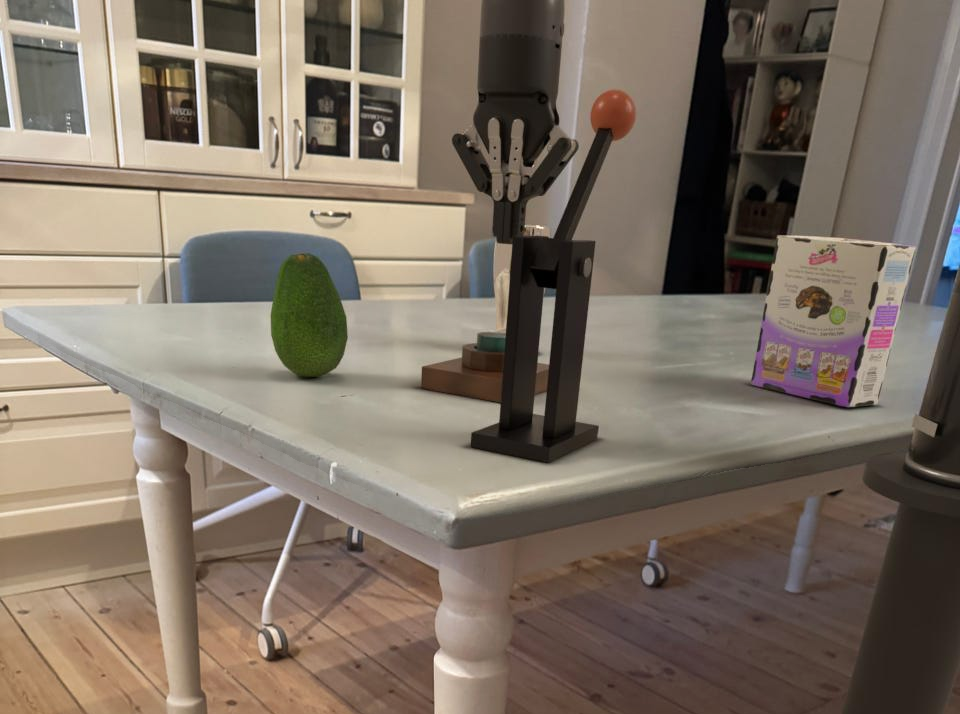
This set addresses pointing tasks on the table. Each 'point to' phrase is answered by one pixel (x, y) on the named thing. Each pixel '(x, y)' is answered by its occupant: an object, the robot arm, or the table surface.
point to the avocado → (307, 317)
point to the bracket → (525, 301)
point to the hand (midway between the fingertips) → (507, 243)
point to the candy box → (831, 317)
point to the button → (491, 341)
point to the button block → (474, 375)
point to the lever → (585, 179)
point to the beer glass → (508, 274)
